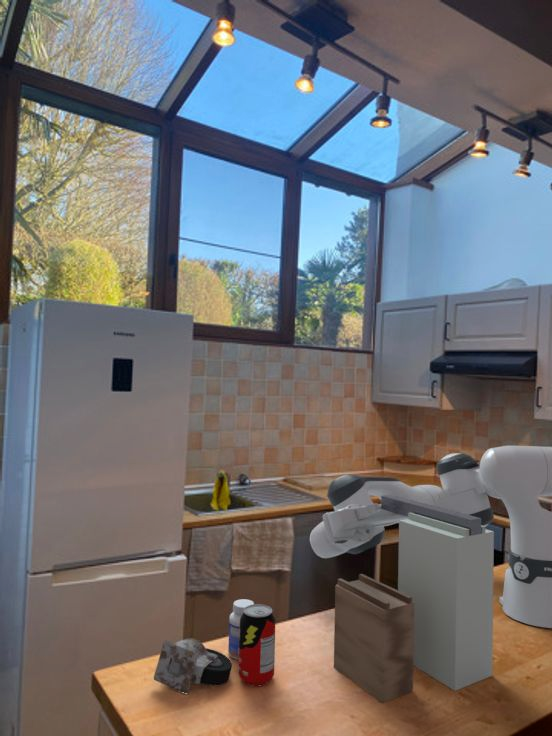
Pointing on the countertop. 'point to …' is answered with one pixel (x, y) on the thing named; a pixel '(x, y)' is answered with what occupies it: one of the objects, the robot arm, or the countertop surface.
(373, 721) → the countertop surface
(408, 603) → the chassis block
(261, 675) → the beverage can
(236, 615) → the pill bottle
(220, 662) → the caster wheel
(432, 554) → the stand
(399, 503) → the bar
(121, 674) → the countertop surface
